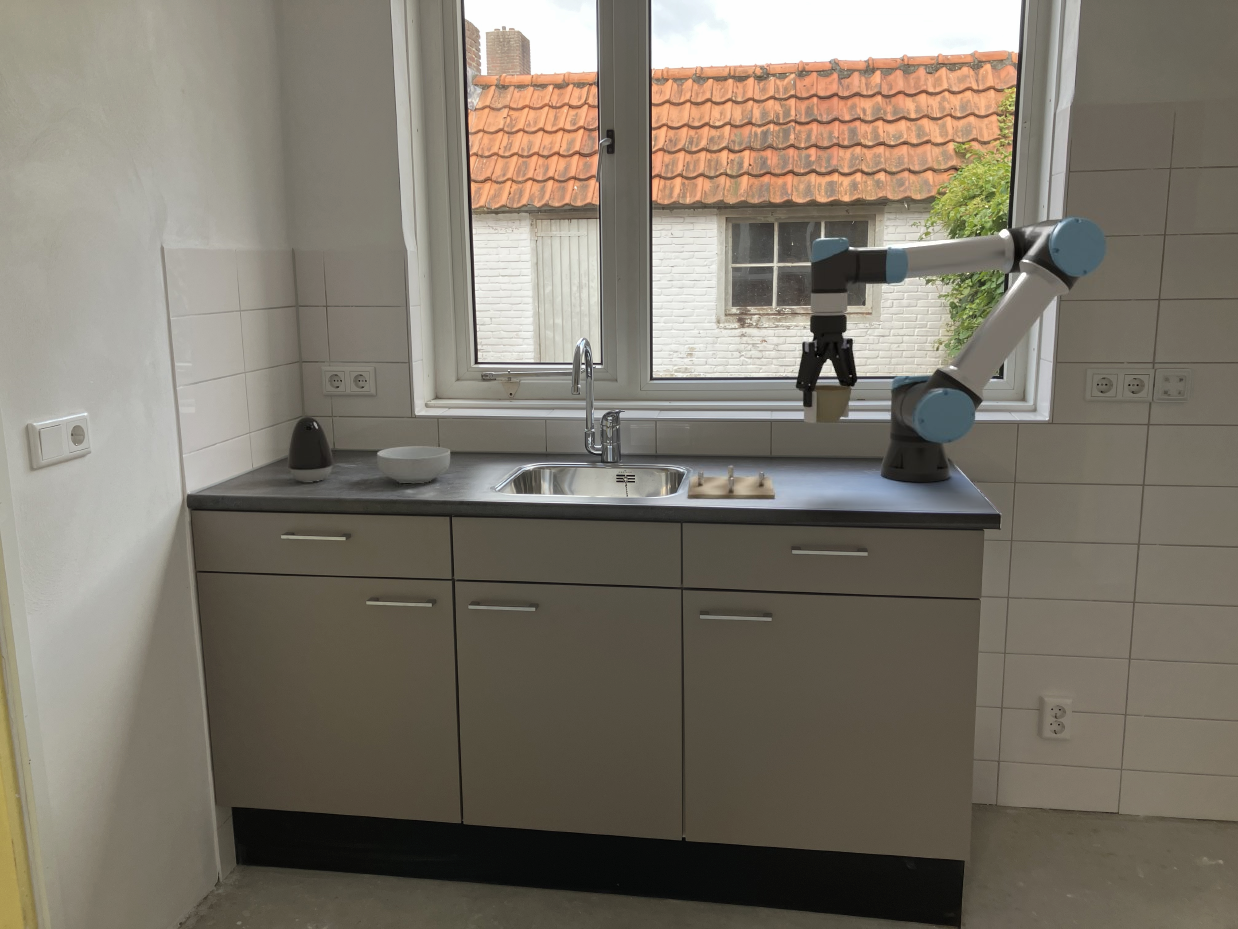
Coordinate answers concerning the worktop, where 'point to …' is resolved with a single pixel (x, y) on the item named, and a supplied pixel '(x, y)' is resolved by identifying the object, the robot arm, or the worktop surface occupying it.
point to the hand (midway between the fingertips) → (826, 419)
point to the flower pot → (831, 402)
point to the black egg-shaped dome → (309, 451)
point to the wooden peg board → (731, 486)
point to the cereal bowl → (413, 463)
